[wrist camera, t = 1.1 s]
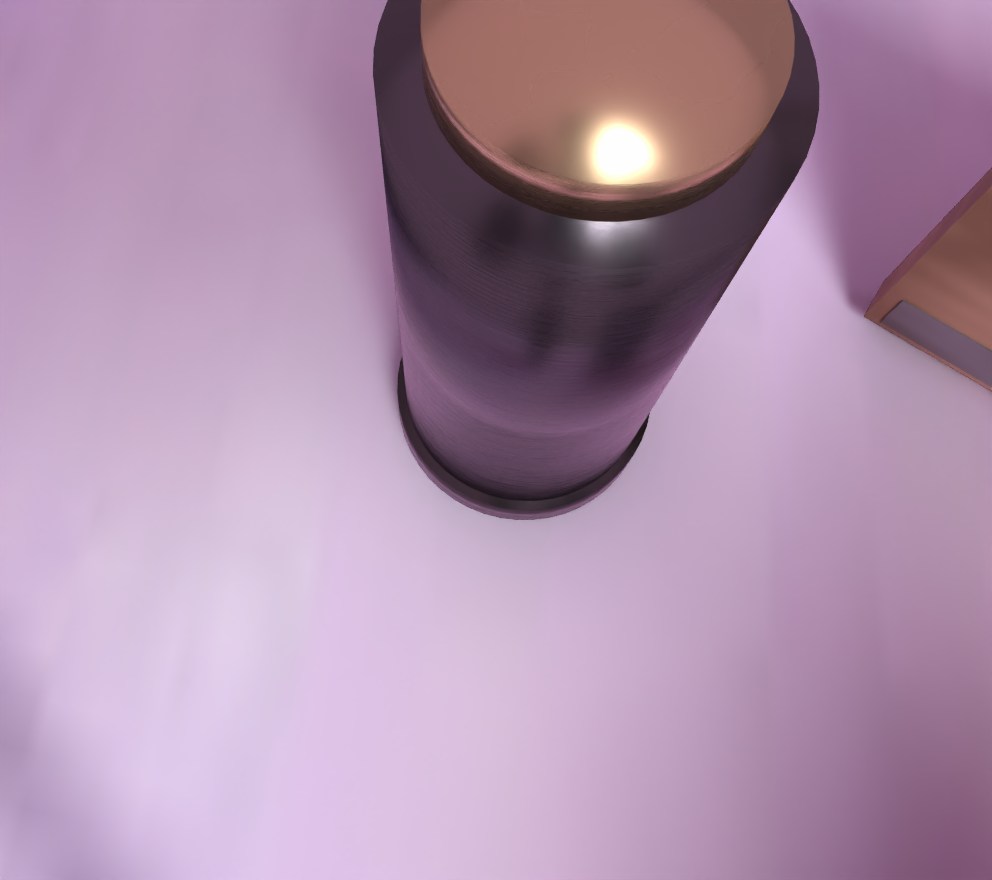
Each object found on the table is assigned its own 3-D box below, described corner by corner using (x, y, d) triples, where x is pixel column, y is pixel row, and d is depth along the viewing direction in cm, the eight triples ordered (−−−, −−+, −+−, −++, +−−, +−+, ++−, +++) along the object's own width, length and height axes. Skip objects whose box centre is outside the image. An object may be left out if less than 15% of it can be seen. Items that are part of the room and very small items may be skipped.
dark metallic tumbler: (560, 568, 22) (706, 349, 10) (350, 431, 23) (242, 68, 11) (686, 371, 24) (943, -24, 12) (486, 249, 24) (530, -243, 12)
